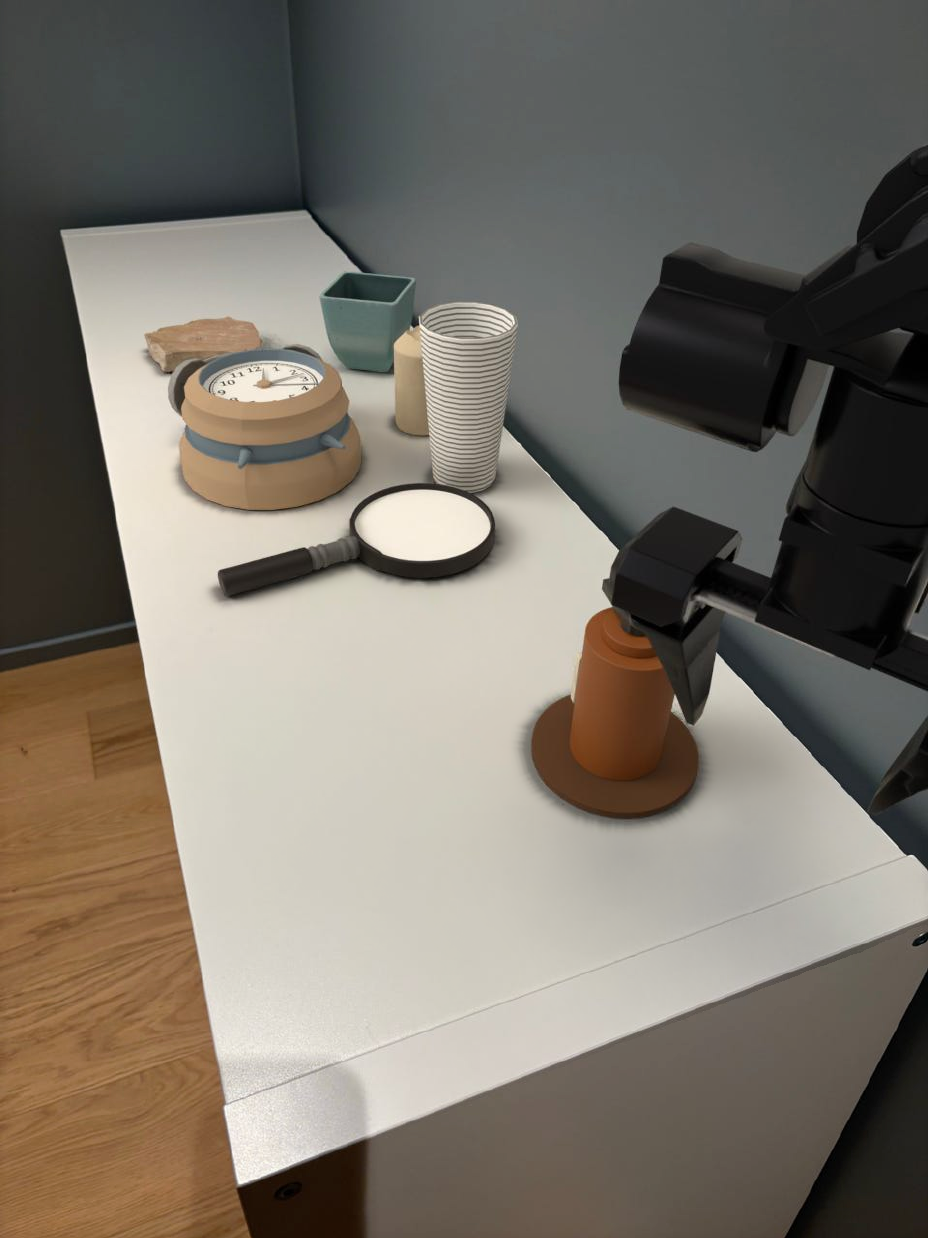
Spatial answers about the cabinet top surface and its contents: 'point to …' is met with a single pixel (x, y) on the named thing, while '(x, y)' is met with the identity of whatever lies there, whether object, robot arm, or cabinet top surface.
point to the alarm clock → (264, 428)
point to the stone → (201, 340)
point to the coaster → (609, 795)
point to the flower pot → (367, 317)
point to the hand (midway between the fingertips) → (779, 761)
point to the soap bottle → (618, 699)
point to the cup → (466, 389)
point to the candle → (410, 384)
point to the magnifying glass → (389, 538)
